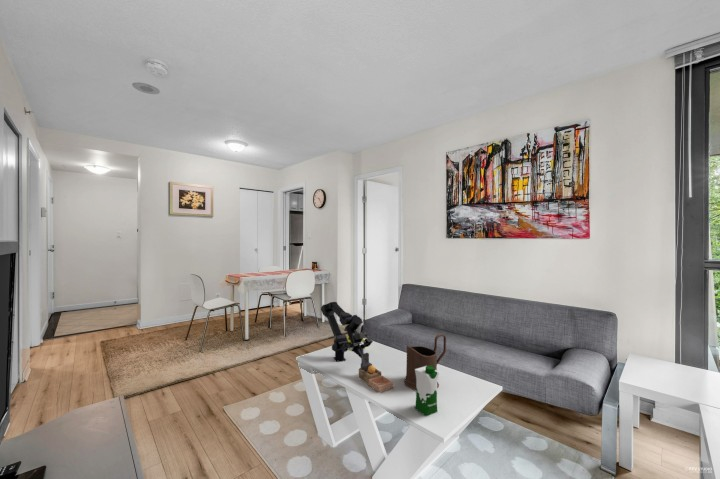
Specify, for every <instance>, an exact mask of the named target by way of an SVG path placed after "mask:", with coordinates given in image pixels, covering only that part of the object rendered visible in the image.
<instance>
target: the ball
mask: <svg viewBox="0 0 720 479" xmlns="http://www.w3.org/2000/svg"><path fill="white" fill-rule="evenodd" d="M375 368H376V367H375V366H374V365H373V364H372V365H371V366H369V367H368V371H369V373H374V372H375Z"/></svg>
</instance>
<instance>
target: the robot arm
mask: <svg viewBox="0 0 720 479" xmlns="http://www.w3.org/2000/svg"><path fill="white" fill-rule="evenodd" d="M320 311H321V313H322V316H324V317H325V318H326V319H327V321H328V324H329V326H330V327H329V328H330V329H331V331H332V335H333V344H332V345H331V350H332V351H334V352H335V353H334V356H333V357H332V358H333V359H334V360H333V361H334V362H343V361H344V362H345V361H346V358H345V352H348V349H351V350H350V351H351V352H353V353H354V354H356V355H357V356H358V357H359V358H360V359H361V357H362V354H364V353H365V352H364V350H365V349H364V347H365V348H367V347H368V348H369V347H370V346H371V345H372V343H373V342H374V341H373V339H372V337H368V338H366V337H367V336H368V333H367V330H363V331H361V332H358V329H359V327H360V326H361V325H362V323H363V319H362V318H361V317H360V316H358V315H357V314H354V315H353V314H351V313H349V312H346V311H345V310H344V309H343V308H342V307H341V306H340V305H339V304H338V302H337V301H330V302H328V303H327V304H322V306H321V307H320ZM335 315H336V316H337V317H338V318H339V320H338V321H339V322H340V324H341V326H344V328H343V329H344V332H346V334H347V335H346V334H345V333H344V334H343V333H342V331H341V328H340V326H339V323H338V321H337V319H336V316H335ZM348 336H349V338H348ZM347 338H348V339H347ZM363 339H364V341H363V342H361V341H362V340H363ZM348 340H350V341H351V342H348Z"/></svg>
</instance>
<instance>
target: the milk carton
mask: <svg viewBox="0 0 720 479" xmlns="http://www.w3.org/2000/svg"><path fill="white" fill-rule="evenodd" d="M415 373H416V390H415V406H414V409H415V410H417V411H418V412H420V413H421V414H422V415H424V416H425V417H426V416H427V417H428V416H429V415H432V414H434V413H437V412H438V388H437V382H438V380H439V379H438V378H439V375H440V371H438V370H437V371H436V370H435V367H433V366H424V367H421V368H417V369H415Z"/></svg>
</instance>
